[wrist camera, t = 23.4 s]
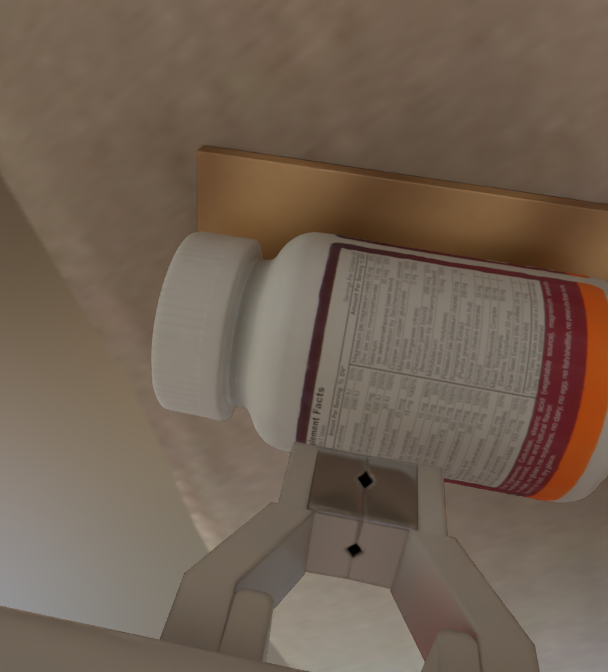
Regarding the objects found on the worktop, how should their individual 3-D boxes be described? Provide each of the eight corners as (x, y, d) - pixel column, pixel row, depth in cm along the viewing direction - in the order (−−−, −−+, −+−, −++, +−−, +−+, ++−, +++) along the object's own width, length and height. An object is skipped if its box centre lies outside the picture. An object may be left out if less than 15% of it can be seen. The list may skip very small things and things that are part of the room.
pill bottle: (531, 415, 20) (211, 358, 21) (596, 246, 17) (218, 187, 18) (579, 560, 14) (144, 475, 15) (688, 350, 11) (137, 258, 12)
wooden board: (910, 248, 16) (926, 258, 15) (768, 433, 20) (777, 446, 19) (202, 144, 17) (196, 150, 17) (203, 336, 21) (198, 345, 21)
